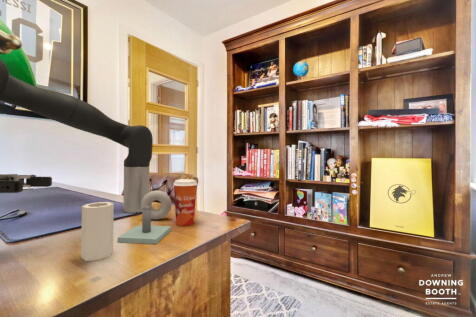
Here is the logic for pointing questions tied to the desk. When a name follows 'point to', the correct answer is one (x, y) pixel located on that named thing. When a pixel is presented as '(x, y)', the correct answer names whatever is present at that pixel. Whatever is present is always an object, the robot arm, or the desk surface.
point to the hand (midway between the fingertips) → (37, 183)
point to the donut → (160, 197)
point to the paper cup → (185, 201)
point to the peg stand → (145, 231)
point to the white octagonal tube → (97, 231)
